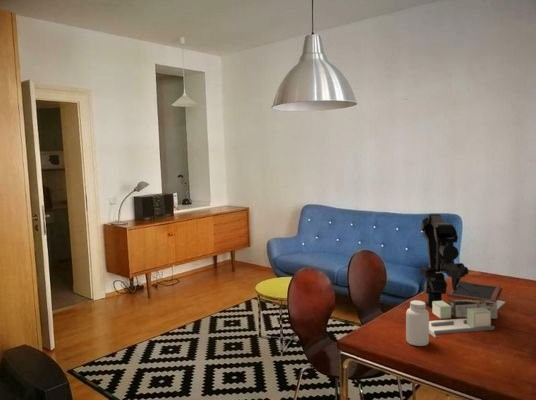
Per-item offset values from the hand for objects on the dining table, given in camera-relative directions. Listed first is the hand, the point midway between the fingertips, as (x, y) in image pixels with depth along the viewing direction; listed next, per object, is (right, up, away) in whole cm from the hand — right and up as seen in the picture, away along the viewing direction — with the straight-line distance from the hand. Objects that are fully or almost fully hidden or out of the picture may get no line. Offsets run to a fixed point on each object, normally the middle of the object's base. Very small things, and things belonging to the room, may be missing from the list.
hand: (443, 291), depth 174 cm
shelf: (+1, -13, -9) cm, 16 cm away
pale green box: (0, -12, +2) cm, 12 cm away
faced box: (+9, -11, -11) cm, 18 cm away
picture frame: (+29, -9, +33) cm, 45 cm away
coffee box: (+21, -8, 0) cm, 22 cm away
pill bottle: (-18, -15, -19) cm, 30 cm away
